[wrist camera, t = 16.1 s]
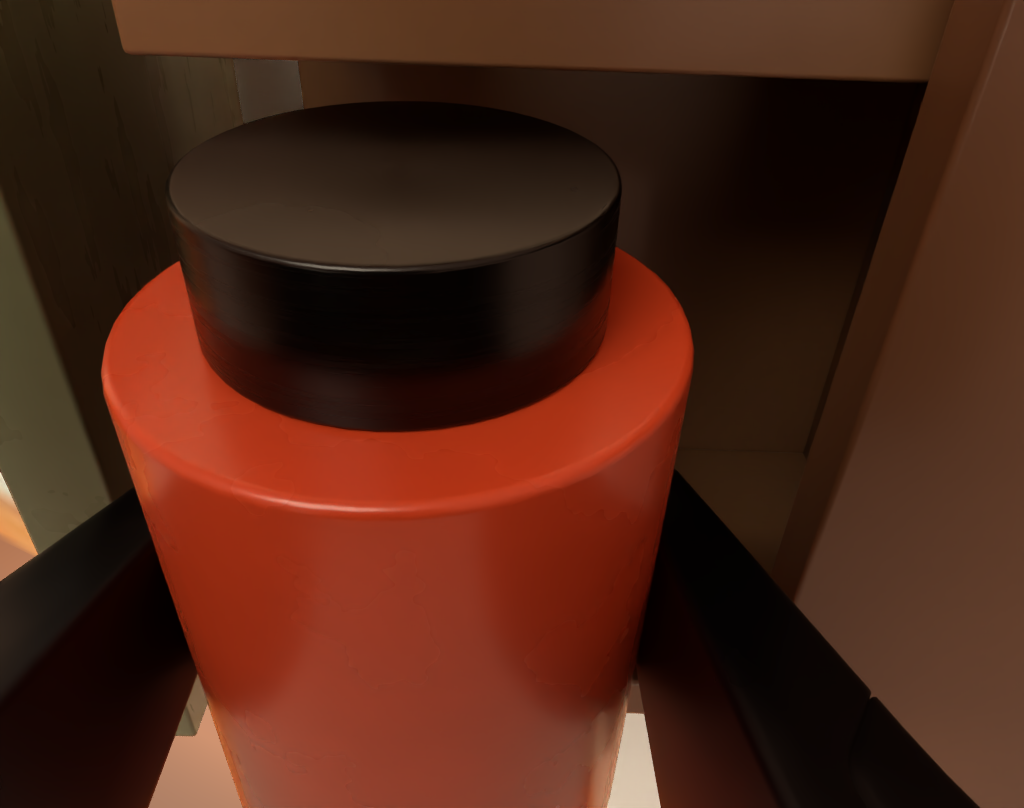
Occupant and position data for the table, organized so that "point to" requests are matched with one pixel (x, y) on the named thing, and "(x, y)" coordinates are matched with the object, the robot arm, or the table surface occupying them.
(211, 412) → the bottle
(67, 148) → the drawer
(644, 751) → the table surface
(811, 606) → the cabinet
